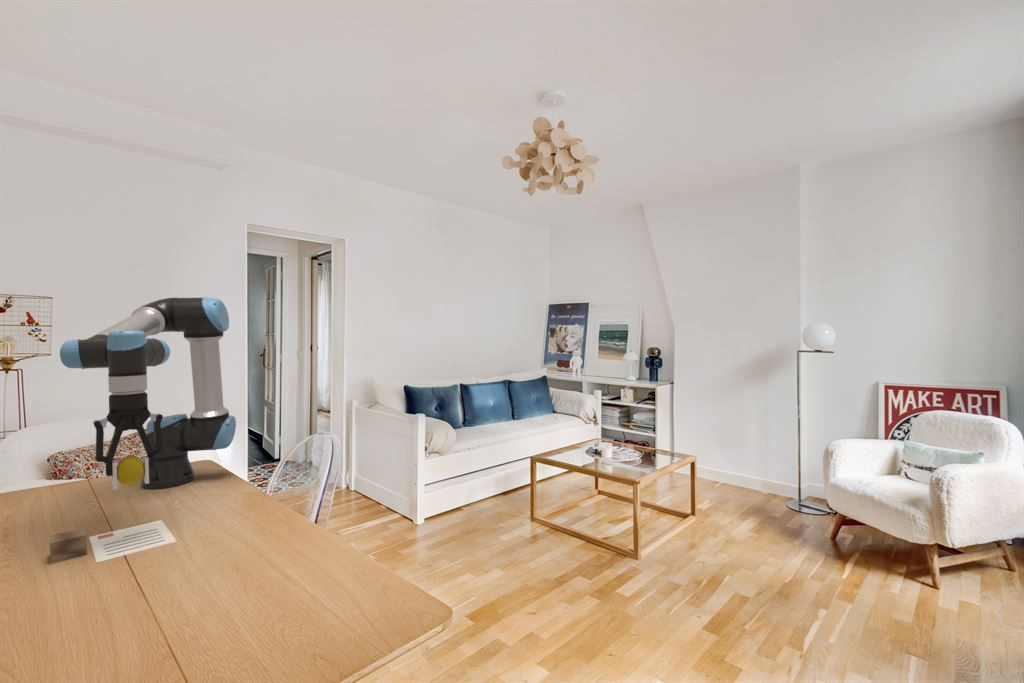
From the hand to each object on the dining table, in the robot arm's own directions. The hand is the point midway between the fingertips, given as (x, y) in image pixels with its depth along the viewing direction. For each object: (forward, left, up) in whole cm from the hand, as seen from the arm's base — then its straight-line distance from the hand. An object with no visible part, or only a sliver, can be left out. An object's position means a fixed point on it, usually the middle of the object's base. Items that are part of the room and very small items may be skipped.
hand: (130, 485), depth 119 cm
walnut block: (+12, 0, -14) cm, 18 cm away
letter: (0, 0, -14) cm, 14 cm away
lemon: (0, 0, -1) cm, 1 cm away
